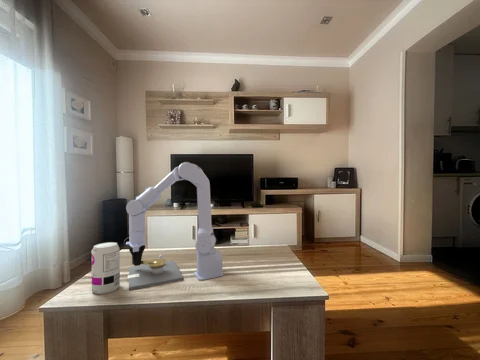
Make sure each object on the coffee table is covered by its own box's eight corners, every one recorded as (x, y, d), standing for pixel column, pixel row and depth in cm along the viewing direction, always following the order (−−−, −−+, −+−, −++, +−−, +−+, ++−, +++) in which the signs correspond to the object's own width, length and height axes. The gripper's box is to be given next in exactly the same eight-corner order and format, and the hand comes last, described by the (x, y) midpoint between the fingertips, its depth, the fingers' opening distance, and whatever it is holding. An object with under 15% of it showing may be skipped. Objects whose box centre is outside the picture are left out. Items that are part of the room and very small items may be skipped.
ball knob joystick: (168, 264, 93) (168, 257, 93) (158, 269, 87) (158, 261, 87) (138, 260, 97) (138, 253, 97) (127, 265, 91) (127, 258, 91)
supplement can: (88, 296, 74) (87, 249, 74) (96, 285, 82) (96, 242, 82) (116, 293, 76) (116, 247, 76) (121, 282, 84) (121, 241, 84)
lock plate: (173, 262, 104) (173, 251, 104) (183, 280, 85) (183, 266, 85) (127, 269, 97) (127, 257, 97) (127, 290, 78) (127, 275, 78)
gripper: (128, 228, 97) (128, 260, 97) (123, 235, 83) (123, 273, 83) (146, 226, 99) (146, 258, 99) (144, 233, 85) (145, 270, 85)
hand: (137, 265), depth 91 cm, fingers closed, pressing on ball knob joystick
